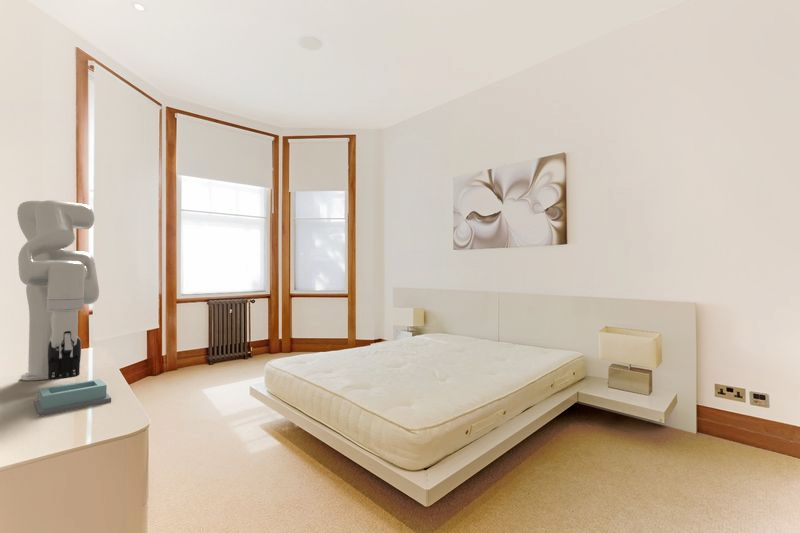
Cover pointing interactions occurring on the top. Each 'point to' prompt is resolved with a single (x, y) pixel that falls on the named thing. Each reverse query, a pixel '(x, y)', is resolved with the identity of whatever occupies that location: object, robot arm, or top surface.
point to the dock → (71, 397)
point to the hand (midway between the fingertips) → (63, 369)
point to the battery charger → (54, 355)
